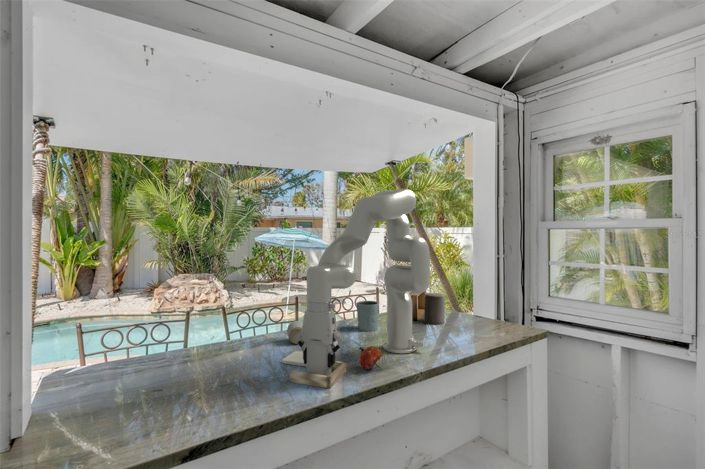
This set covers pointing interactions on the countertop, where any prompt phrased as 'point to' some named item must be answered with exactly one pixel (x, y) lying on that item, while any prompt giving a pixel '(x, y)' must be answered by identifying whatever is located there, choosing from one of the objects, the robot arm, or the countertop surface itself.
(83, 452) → the countertop surface
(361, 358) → the red tomato
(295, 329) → the ceramic mug
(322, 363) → the can
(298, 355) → the tile
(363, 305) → the teal cup
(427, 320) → the pillar candle
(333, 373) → the open wooden frame
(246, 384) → the countertop surface
